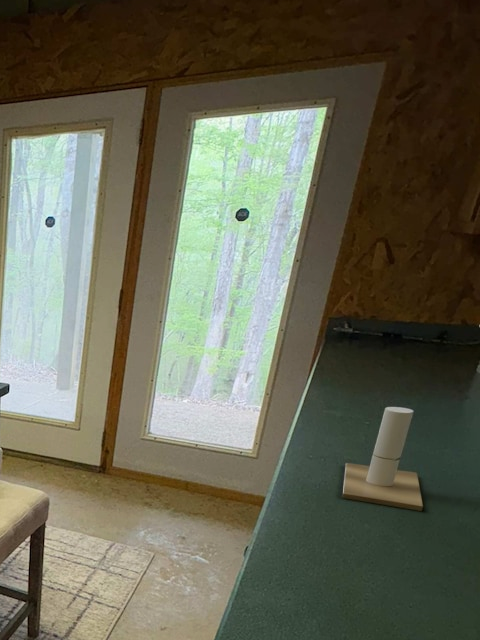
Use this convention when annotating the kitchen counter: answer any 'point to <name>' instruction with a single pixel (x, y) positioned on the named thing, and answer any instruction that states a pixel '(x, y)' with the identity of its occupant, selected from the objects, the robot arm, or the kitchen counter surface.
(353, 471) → the birch board
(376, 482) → the tube
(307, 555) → the kitchen counter surface
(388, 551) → the kitchen counter surface
